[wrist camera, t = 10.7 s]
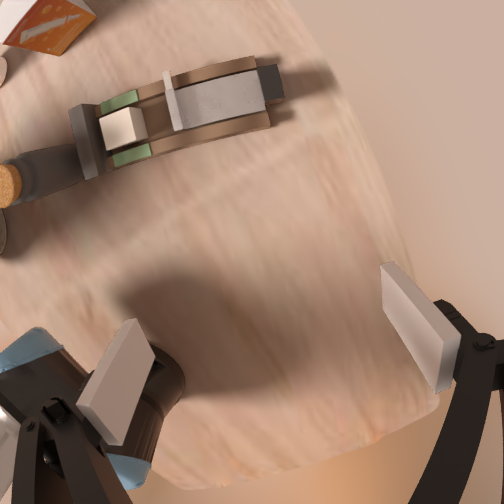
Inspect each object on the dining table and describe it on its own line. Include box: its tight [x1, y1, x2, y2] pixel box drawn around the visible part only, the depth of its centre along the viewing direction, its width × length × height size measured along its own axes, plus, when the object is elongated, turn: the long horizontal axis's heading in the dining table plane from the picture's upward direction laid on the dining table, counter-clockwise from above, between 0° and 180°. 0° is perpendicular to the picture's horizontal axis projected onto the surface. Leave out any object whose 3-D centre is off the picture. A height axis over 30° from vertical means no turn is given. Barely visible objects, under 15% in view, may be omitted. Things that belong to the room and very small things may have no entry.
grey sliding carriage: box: [162, 64, 285, 131], centre depth 30 cm, size 12×7×6 cm, turn 103°
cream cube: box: [99, 107, 148, 150], centre depth 33 cm, size 4×4×4 cm
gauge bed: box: [68, 56, 271, 180], centre depth 32 cm, size 22×9×6 cm, turn 103°
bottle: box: [0, 144, 84, 208], centre depth 31 cm, size 6×6×15 cm
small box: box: [0, 0, 97, 56], centre depth 24 cm, size 8×6×13 cm
